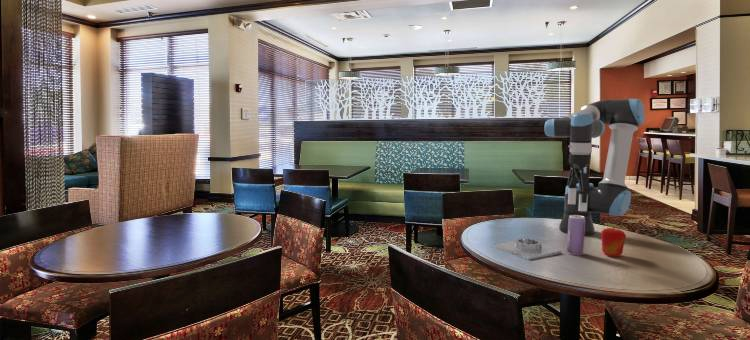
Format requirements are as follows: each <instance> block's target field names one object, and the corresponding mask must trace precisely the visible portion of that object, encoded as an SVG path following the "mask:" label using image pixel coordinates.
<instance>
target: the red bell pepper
mask: <svg viewBox="0 0 750 340" xmlns="http://www.w3.org/2000/svg"><path fill="white" fill-rule="evenodd" d="M600 236H601V237H600V240H601V251H602V253H603V254H604V255H605V256H606V257H610V258H617V257H619V256H621V255H622V254H623V252H624V246H625V243H626V238H627V235H626V233H625V232H624V231H623V230H621V229H618V228H615V226H612V227H609V228H608V227H607V228H603V229H602V231H601V232H600Z"/></svg>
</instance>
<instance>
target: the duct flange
mask: <svg viewBox="0 0 750 340" xmlns="http://www.w3.org/2000/svg"><path fill="white" fill-rule="evenodd" d="M494 246H495V248H496V249H499V250H502V251H504V252H507V253H510V254H512V255H515V256H517V257H520V258H522V259H526V260H528V261H530V260H536V259H540V258H545V257H550V256H555V255H561V254H563V250H561V249H558V248H555V247H552V246H549V245H546V244H543V243H542V242H541V240H537V239H534V238H528V237H526V238H525V237H524V238H523V237H522V238H521V237H520V238H516V239H515V240H514V241H507V242H500V243H496V244H495V245H494Z"/></svg>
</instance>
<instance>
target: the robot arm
mask: <svg viewBox="0 0 750 340" xmlns="http://www.w3.org/2000/svg"><path fill="white" fill-rule="evenodd" d="M645 112H646V111H645V105H644V103H643V101H642V100H641V99H638V98H619V99H603V100H598V101H595V102H591V103H589V104H586V105H584V106H582V107H581V108H580V110H578V111H575V112H573V113H569V114H567V115H566V116H563V117H561V118H558V119H557V118H551V119H547V120H546V121H545V123H544V134H545V136H547V137H552V138H569V139H570V140H569V145H568V147H567V148H569V153H570V154H568V157H569V158H568V163H569V164H570V166H569V167H570V170H569V173H568V178H567V183H566V186H565V193H564V205H563V206H564V207H563V210H564V212H563V216H562V218H561V220H560V223H559V231H560V232H562V233H566V234H568V219H569V216H570V215H580V216H584V217H585V233H584V236H590V235H594V234H595V227H594V223H593V219H592V213H597V214H602V215H603V214H604V215H609V216H619V217H620V216H621V217H622V216H623V215H625V214H626V213H627V211H628V209H630V208H629V207H630V205H631V200H632V193H631V191H630V190H628V188H629V187H628V186H627V185H626V184H625V182H626V178H627V177H626V176H627V171H628V166H629V165H628V164H629V160H630V155H631V148H632V142H633V138H634V137H633V136H634V132H636V131H638V130H639V126H642V125H644V124H645V121H646V120H645V119H646V113H645ZM605 125H608V128H609V129H610V130H611V134H610V138H609V139H610V140H609V144H608V150H607V151H608V152H607V155H606V160H605V161H606V162H605V167H604V173H603V178H602V180H601V181H599V182H598V186H596V187H595V186H594V183H592V182H591V183H590V175H589V167H586V165H590V164H591V157H592V156H591V153H592V146H593V144H592V143H593V142H592V140H593V139H596V138H598V137H601V136H602V135H604V133H605V130H606V126H605Z"/></svg>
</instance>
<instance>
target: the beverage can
mask: <svg viewBox="0 0 750 340" xmlns="http://www.w3.org/2000/svg"><path fill="white" fill-rule="evenodd" d="M584 233H585V217H584V216H580V215H570V216H569V219H568V233H567V236H566V237H567V240H566V252H567V254H570V255H572V256H582V255H583V254H584V247H585V235H584Z"/></svg>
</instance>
